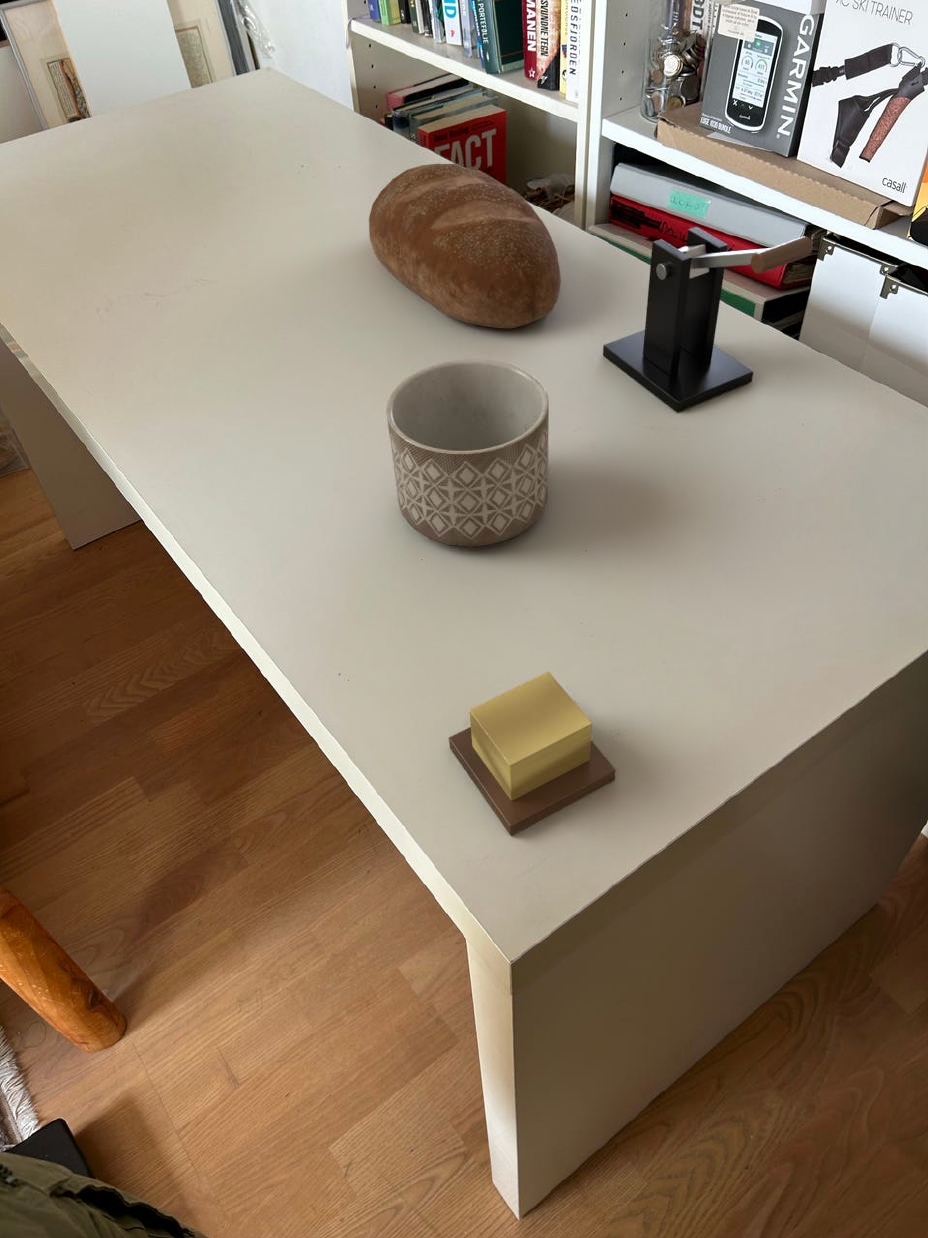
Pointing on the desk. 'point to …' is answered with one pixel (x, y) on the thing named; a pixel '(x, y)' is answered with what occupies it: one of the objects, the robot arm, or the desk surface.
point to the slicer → (680, 331)
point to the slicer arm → (748, 257)
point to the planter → (470, 450)
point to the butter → (531, 753)
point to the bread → (466, 245)
